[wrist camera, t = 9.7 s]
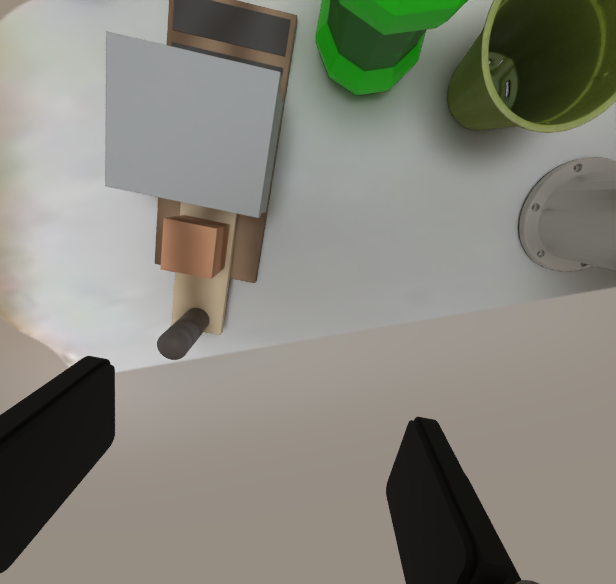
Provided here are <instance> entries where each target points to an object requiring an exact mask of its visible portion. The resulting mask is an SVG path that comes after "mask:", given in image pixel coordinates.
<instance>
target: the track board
mask: <svg viewBox="0 0 616 584" xmlns="http://www.w3.org/2000/svg"><path fill="white" fill-rule="evenodd" d="M296 27H297V15H294V14H290V13H286V12H281V11H277V10H273V9H269V8H265V7H261V6H257V5H253V4H249V3H245V2H241V1H237V0H169V14H168V32H167V46H172V47H176V48H180V49H184V50H189V51H193V52H197V53H201V54H206V55H210V56H214V57H218V58H223V59H227V60H231V61H236V62H240V63H244V64H248V65H253V66H257V67H261V68H265V69H270V70H274V71H278V72H280V73H281V77H282V79H281V86H280V94H281V98H282V101H283V107H282V113H281V119H280V126H279V132H278V138H277V145H276V151H275V158H274V164H273V170H272V177H271V183H270V189H269V196H268V202H267V208H266V212H265V213H262V214H261V217H259V218H256V217H252V216H247V215H242V214H238V218H237V225H236V233H235V241H234V248H233V256H232V263H231V271H230V278H231V279H236V280H241V281H246V282H251V283H255V282H256V280H257V274H258V267H259V261H260V255H261V248H262V242H263V236H264V229H265V223H266V217H267V210H268V204H269V198H270V192H271V185H272V179H273V173H274V166H275V160H276V154H277V147H278V141H279V135H280V128H281V122H282V116H283V109H284V103H285V97H286V91H287V84H288V78H289V72H290V65H291V59H292V53H293V46H294V40H295V34H296ZM180 206H181V202H179V201H174V200H170V199H165V198H160V197H158V213H157V231H156V249H155V264H159V265H161V253H162V237H163V220H164V218H167V217H174V216H180Z"/></svg>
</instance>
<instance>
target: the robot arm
mask: <svg viewBox="0 0 616 584" xmlns="http://www.w3.org/2000/svg"><path fill="white" fill-rule="evenodd" d="M519 233H520V240H521V243H522V245H523V248H524V250H525V251H526V253H527V254H528V256H529V257H530V258H531V259H532V260H533V261H534V262H536V263H538V264H539V265H541V266H543V267H546V268H549V269H552V270H557V271H566V272H572V271H577V270H582V269H585V268H588V267H591V266H597V267H601V268H605V269H609V270H613V271H616V161H614V160H611V159H608V158H601V157H592V158H583V159H578V160H573V161H570V162H568V163H565V164H562V165H561V166H559V167H557V168H555V169H554V170H552V171H551V172H549V173H548V174H547V175H546V176H545V177H543V178H542V179H541V180H540V181H539V183H538V184H537V185H536V186H535V187H534V188H533V190H532V191H531V193H530V194H529V196H528V197H527V199H526V202H525V204H524V206H523V208H522V212H521V216H520V223H519ZM114 436H115V369H114V366H113V365H110V361H109V360H108V359H103V358H98V357H93V356H86V357H84V358H83V359H81V360H80V361H78V362H77V363H75V364H74V365H72V366H71V367H70V368H68V369H67V370H65V371H64V372H62V373H61V374H59V375H58V376H57V377H55V378H54V379H52V380H51V381H49V382H48V383H46V384H45V385H44V386H42V387H41V388H39V389H38V390H36V391H35V392H33V393H32V394H30V395H29V396H28V397H26V398H25V399H23V400H22V401H20V402H19V403H17V404H16V405H14V406H13V407H12V408H10V409H9V410H7V411H6V412H4V413H3V414H1V415H0V573H2V572H4V571H5V570H7V569H8V568H9V567H10V565H12V563H13V562H14V561H15V560H16V559H17V558H18V556H19V555H20V554H21V553H22V552H23V550H24V549H25V548H26V547H27V545H28V544H29V543H30V542H31V541H32V540H33V538H34V537H35V536H36V535H37V534H38V532H39V531H40V530H41V529H42V527H43V526H44V525H45V524H46V523H47V522H48V520H49V519H50V518H51V517H52V516H53V514H54V513H55V512H56V511H57V510H58V508H59V507H60V506H61V505H62V504H63V502H64V501H65V500H66V499H67V498H68V496H69V495H70V494H71V493H72V492H73V490H74V489H75V488H76V487H77V486H78V484H79V483H80V482H81V481H82V480H83V478H84V477H85V476H86V475H87V473H88V472H89V471H90V470H91V469H92V468H93V466H94V465H95V464H96V463H97V462H98V460H99V459H100V458H101V457H102V456H103V454H104V453H105V452H106V450H107V449H108V448H109V447H110V446H111V444H112V442H113V440H114ZM386 495H387V500H388V505H389V509H390V514H391V518H392V523H393V527H394V532H395V536H396V541H397V545H398V550H399V554H400V559H401V563H402V568H403V572H404V577H405V581H406V584H539V583H536V582H534V581H530V580H521V578H520V577H519V575H518V573H517V571H516V569H515V567H514V565H513V563H512V561H511V559H510V558H509V556H508V554H507V552H506V550H505V548H504V546H503V544H502V542H501V540H500V538H499V536H498V535H497V533H496V531H495V529H494V527H493V525H492V523H491V521H490V519H489V517H488V515H487V514H486V512H485V510H484V508H483V506H482V504H481V502H480V500H479V498H478V497H477V494H476V493H475V491H474V489H473V487H472V485H471V483H470V481H469V479H468V478H467V476H466V475H465V473H464V472H463V470H462V468H461V466H460V464H459V462H458V460H457V458H456V457H455V454H454V452H453V451H452V448H451V447H450V445H449V443H448V441H447V439H446V437H445V435H444V433H443V431H442V429H441V427H440V425H439V424H438V422H437V421H436V420H433V419H428V418H422V417H416V418H415V420H414V421H412V420H411V421H409V423H408V426H407V428H406V431H405V434H404V437H403V440H402V442H401V445H400V448H399V451H398V454H397V457H396V459H395V462H394V465H393V468H392V471H391V474H390V476H389V479H388V482H387V487H386Z"/></svg>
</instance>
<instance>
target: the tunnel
mask: <svg viewBox="0 0 616 584" xmlns="http://www.w3.org/2000/svg"><path fill="white" fill-rule="evenodd" d="M281 79H282V77H281V73H280V72H278V71H274V70H270V69H265V68H261V67H257V66H253V65H248V64H244V63H240V62H236V61H231V60H227V59H223V58H218V57H214V56H210V55H206V54H201V53H197V52H193V51H189V50H184V49H180V48H176V47H172V46H167V45H163V44H159V43H154V42H150V41H146V40H142V39H137V38H133V37H129V36H125V35H120V34H116V33H112V32H108V31H106V151H105V186H107V187H112V188H116V189H121V190H126V191H131V192H136V193H141V194H145V195H150V196H155V197H160V198H165V199H170V200H174V201H179V202H184V203H189V204H194V205H199V206H203V207H208V208H213V209H218V210H223V211H228V212H232V213H237V214H242V215H247V216H252V217H256V218H259V217H261V214H262V213H265V212H266V208H267V202H268V196H269V189H270V183H271V177H272V170H273V164H274V158H275V151H276V145H277V138H278V132H279V126H280V119H281V113H282V107H283V101H282V98H281V94H280V86H281Z"/></svg>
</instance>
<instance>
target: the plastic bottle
mask: <svg viewBox="0 0 616 584" xmlns="http://www.w3.org/2000/svg"><path fill="white" fill-rule="evenodd" d="M467 1H468V0H322V3H321V9H320V15H319V21H318V26H317V32H316V44H317V47H318V50H319V52H320V55H321V58H322V60H323V63H324V66H325V68H326V71H327V74H328V76H329V78H331V79H332V80H334V81H335V82H337V83H338V84H340V85H341V86H343V87H344V88H346V89H348V90H349V91H351V92H352V93H354V94H355V95H362V94H369V93H377V92H385V91H389V90H390V89H391V88H392V87H393V86H394V85H395V84H396V83H397V82H398V81H399V80H400V79H401V78H402V77H403V76H404V75H405V74H406V73H407V72H408V71H409V70H410V69H411V68H412V67H413V66H414V65H415V64H416V62H417V61H418V59H419V55H420V51H421V47H422V43H423V40H424V36H425V32H426V30H427V29H432V28H437V27H438V26H440V25H442V24H443V23H445V22H446V21H448V20H449V19H450V18H451V17H452V16H453V15H454V14H455V13H456V12H457V11H458V10H459V9H460V8H461V7H462V6H463V5H464V4H465V3H466V2H467Z"/></svg>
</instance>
